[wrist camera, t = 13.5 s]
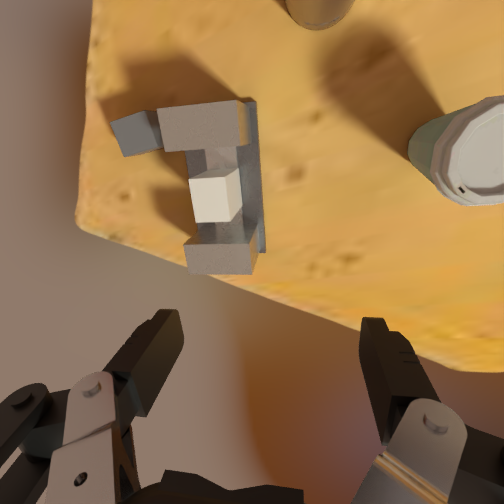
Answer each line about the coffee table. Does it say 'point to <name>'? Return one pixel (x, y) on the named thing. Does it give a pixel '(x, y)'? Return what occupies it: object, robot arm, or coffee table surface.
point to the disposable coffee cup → (464, 153)
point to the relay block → (138, 133)
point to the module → (216, 195)
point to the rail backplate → (221, 157)
